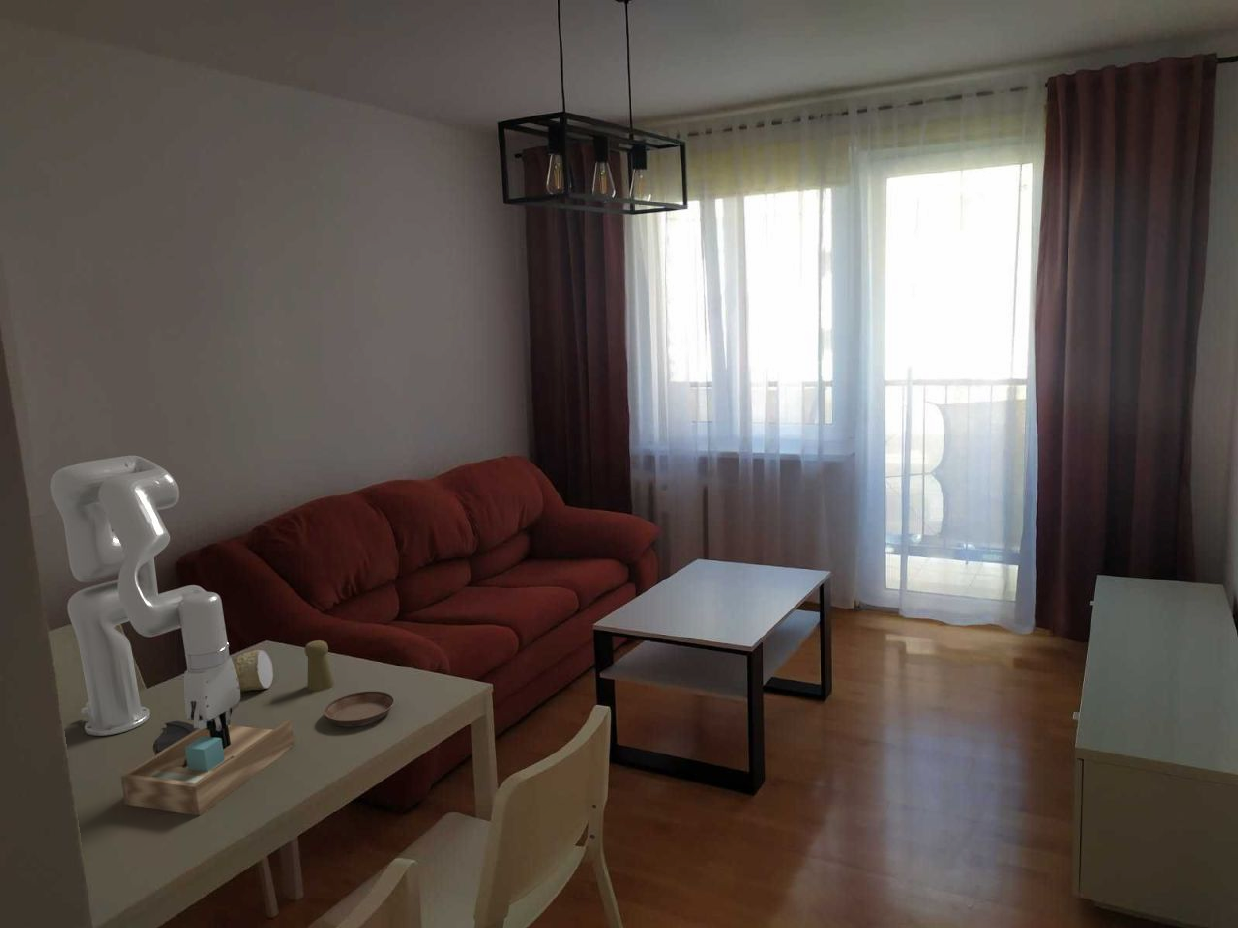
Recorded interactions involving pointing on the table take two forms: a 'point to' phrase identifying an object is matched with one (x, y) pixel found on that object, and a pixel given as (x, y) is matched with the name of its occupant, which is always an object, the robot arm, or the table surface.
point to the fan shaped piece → (173, 734)
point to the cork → (318, 666)
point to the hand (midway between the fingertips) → (221, 746)
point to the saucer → (359, 708)
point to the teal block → (204, 754)
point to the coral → (254, 670)
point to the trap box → (197, 791)
